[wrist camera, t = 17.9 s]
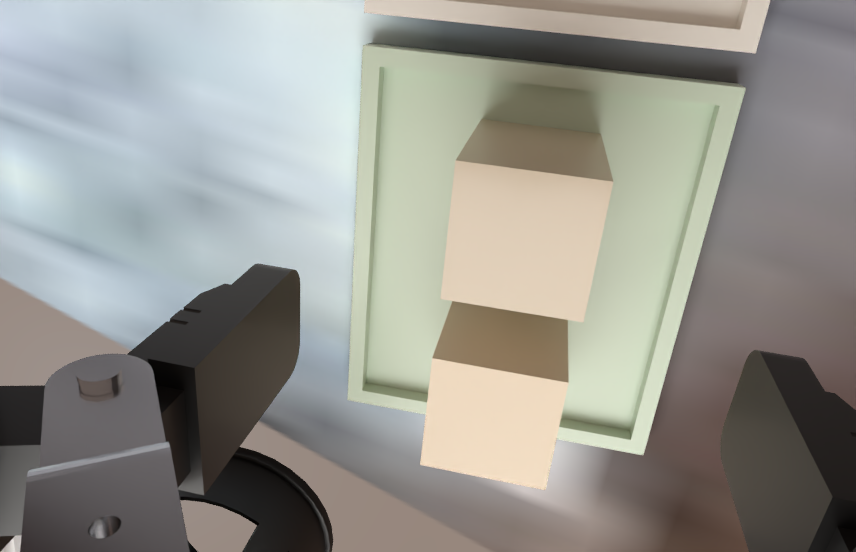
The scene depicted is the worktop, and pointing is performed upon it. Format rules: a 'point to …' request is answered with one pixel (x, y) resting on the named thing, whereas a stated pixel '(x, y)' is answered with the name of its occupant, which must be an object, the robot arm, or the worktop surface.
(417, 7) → the bin
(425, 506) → the worktop surface
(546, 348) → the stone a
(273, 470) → the french press
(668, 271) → the bin
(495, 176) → the beige block
